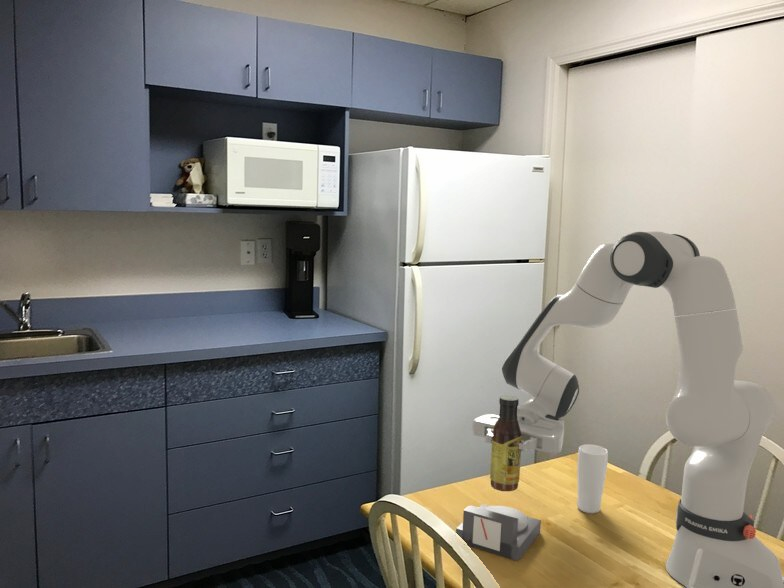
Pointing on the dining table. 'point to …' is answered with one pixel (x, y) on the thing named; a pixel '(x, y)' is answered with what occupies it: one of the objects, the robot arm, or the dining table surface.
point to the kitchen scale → (498, 530)
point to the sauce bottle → (506, 447)
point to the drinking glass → (591, 477)
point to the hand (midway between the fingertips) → (504, 443)
